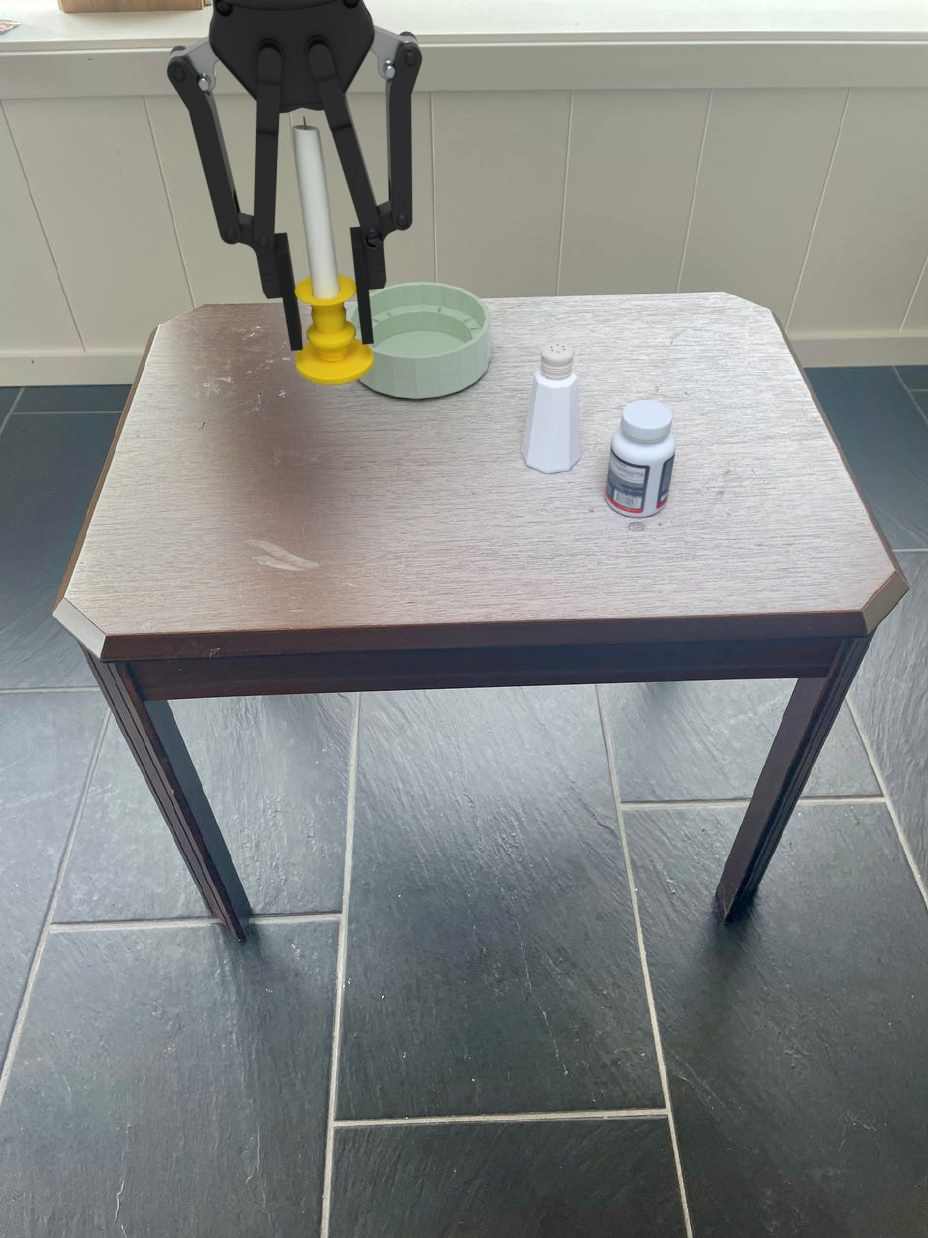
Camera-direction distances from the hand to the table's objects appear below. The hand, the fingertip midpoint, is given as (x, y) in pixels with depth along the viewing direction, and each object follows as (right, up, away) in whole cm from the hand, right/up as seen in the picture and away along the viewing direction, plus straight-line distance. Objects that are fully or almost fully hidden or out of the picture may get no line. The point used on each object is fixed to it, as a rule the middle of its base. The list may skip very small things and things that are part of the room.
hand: (331, 335), depth 63 cm
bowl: (+4, +8, +35) cm, 36 cm away
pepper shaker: (+17, -4, +24) cm, 30 cm away
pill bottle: (+23, -8, +20) cm, 32 cm away
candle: (0, -2, +2) cm, 2 cm away
